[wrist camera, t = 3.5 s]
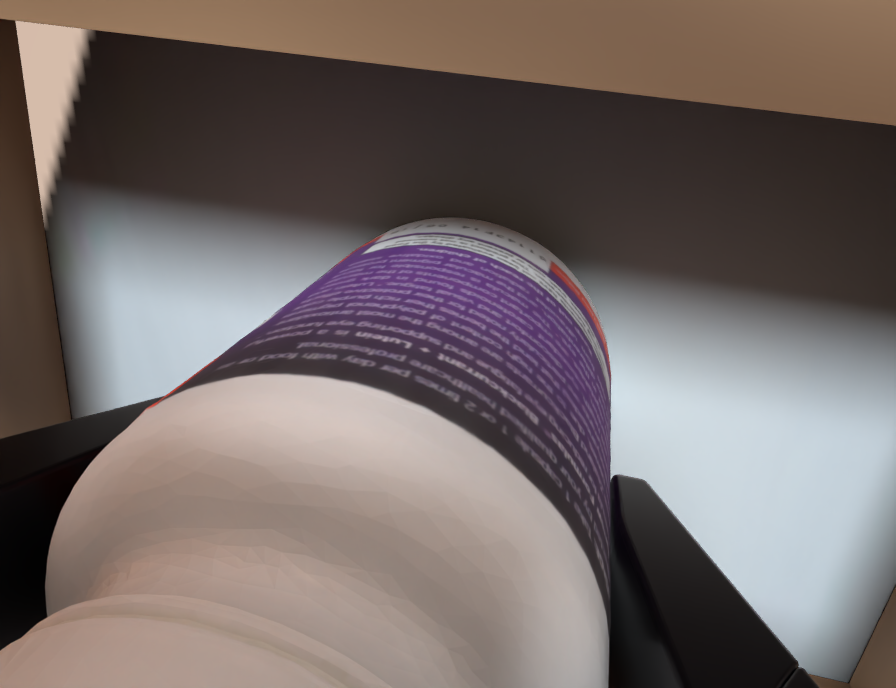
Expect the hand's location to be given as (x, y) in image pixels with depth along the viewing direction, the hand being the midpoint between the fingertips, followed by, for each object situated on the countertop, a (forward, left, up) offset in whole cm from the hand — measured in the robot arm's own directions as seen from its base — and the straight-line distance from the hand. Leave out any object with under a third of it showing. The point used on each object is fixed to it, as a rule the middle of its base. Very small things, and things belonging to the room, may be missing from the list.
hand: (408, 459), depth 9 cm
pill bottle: (0, 0, -4) cm, 4 cm away
